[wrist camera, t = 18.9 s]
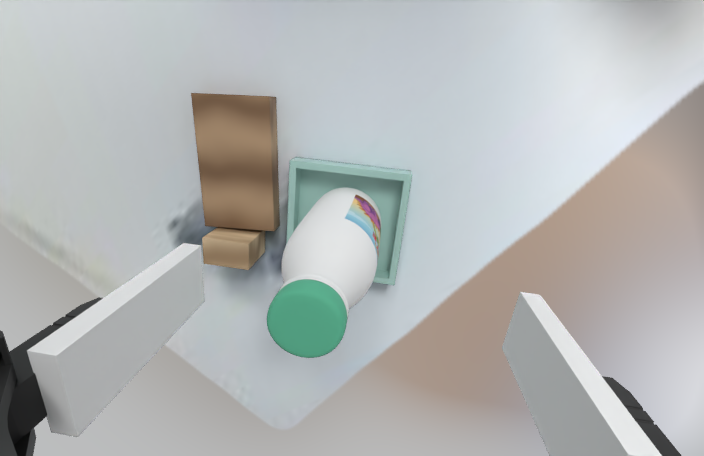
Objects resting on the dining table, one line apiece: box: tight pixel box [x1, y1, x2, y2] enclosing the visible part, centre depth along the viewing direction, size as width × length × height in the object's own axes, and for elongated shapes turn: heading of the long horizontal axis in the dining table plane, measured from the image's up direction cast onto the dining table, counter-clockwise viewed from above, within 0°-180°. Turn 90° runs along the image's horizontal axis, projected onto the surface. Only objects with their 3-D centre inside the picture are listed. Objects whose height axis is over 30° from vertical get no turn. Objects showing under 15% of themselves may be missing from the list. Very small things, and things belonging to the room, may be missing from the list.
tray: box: [287, 157, 412, 285], centre depth 37 cm, size 12×12×2 cm
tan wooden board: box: [191, 93, 280, 231], centre depth 37 cm, size 14×8×2 cm, turn 177°
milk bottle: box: [267, 187, 381, 358], centre depth 29 cm, size 8×8×20 cm
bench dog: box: [202, 227, 265, 270], centre depth 38 cm, size 3×5×5 cm, turn 84°
